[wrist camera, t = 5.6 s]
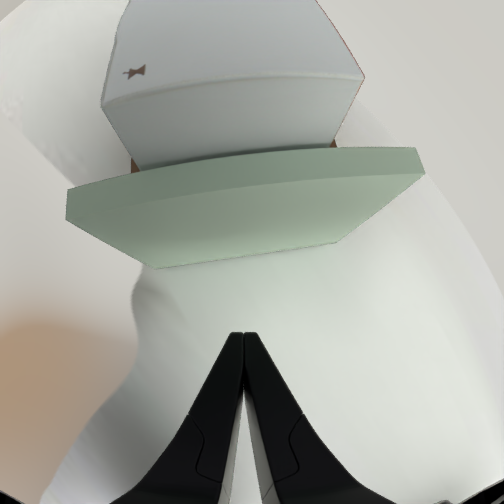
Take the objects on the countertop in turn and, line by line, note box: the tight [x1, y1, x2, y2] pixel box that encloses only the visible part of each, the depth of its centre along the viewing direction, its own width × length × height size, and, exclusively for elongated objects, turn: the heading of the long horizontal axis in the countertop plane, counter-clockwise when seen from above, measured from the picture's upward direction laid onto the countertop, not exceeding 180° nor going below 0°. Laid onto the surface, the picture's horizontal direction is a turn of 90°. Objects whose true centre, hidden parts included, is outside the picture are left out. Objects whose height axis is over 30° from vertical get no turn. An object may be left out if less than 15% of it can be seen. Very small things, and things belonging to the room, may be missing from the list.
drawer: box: [66, 147, 425, 269], centre depth 14 cm, size 11×11×10 cm
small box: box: [101, 0, 365, 171], centre depth 12 cm, size 8×6×13 cm
